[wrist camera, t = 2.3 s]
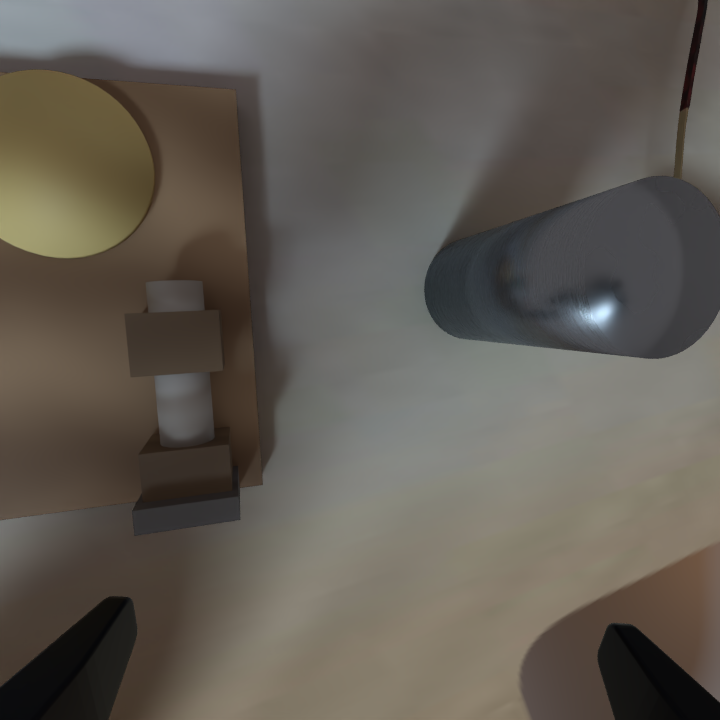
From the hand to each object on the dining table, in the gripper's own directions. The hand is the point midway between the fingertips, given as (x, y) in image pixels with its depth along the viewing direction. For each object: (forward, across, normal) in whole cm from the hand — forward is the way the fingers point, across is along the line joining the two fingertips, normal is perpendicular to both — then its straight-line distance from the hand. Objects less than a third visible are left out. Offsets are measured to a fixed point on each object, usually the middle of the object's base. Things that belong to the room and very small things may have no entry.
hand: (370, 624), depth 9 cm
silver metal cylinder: (+15, -5, -3) cm, 16 cm away
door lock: (+11, +10, -3) cm, 15 cm away
